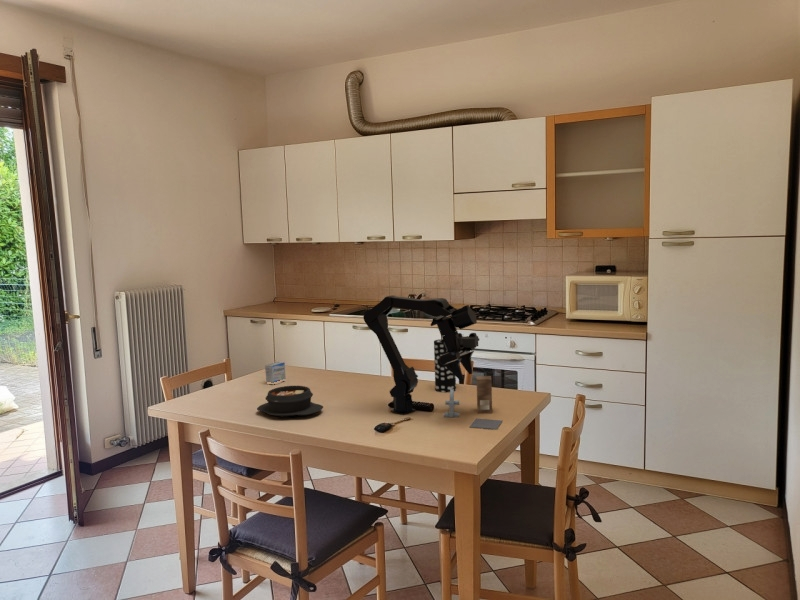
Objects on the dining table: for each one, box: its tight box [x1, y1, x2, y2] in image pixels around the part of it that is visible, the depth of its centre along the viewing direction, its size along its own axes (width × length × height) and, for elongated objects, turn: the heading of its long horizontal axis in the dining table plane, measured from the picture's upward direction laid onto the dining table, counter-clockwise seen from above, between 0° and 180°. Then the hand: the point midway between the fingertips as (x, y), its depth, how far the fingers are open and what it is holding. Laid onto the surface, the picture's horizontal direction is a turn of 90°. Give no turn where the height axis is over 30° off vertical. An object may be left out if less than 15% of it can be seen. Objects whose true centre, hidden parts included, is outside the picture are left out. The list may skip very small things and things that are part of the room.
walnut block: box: [476, 375, 493, 414], centre depth 211 cm, size 5×5×12 cm
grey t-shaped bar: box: [443, 389, 460, 418], centre depth 214 cm, size 18×5×5 cm, turn 174°
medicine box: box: [264, 361, 287, 383], centre depth 264 cm, size 8×4×9 cm, turn 147°
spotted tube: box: [433, 338, 457, 393], centre depth 241 cm, size 8×8×20 cm
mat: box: [469, 418, 503, 430], centre depth 196 cm, size 9×9×1 cm
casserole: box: [256, 385, 324, 417], centre depth 217 cm, size 25×19×8 cm
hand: (466, 376), depth 202 cm, fingers open, 9 cm apart
